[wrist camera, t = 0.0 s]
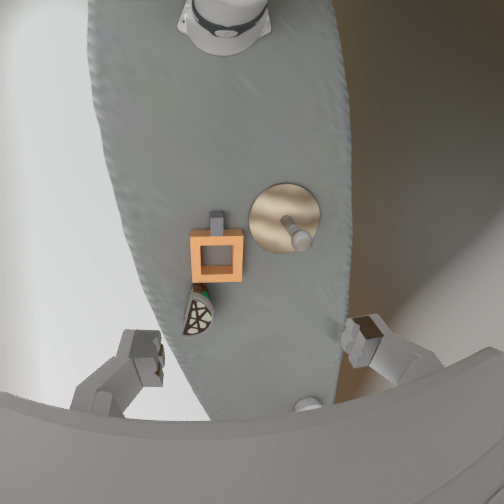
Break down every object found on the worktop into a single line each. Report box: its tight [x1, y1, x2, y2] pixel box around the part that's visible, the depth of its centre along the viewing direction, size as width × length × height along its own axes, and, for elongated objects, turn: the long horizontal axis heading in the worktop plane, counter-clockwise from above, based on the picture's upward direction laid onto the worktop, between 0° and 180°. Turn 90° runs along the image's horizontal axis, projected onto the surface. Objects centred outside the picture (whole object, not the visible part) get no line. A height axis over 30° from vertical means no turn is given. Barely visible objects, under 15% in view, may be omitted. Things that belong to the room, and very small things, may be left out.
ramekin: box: [295, 397, 322, 412], centre depth 95 cm, size 11×11×5 cm
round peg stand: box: [249, 183, 320, 254], centre depth 55 cm, size 16×16×14 cm
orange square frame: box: [190, 212, 244, 283], centre depth 59 cm, size 15×11×4 cm
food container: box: [182, 282, 215, 338], centre depth 62 cm, size 12×6×10 cm, turn 161°
